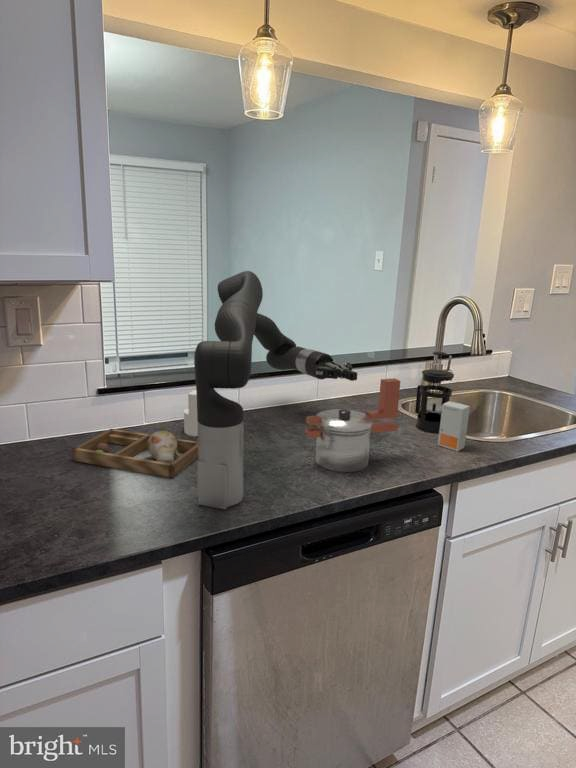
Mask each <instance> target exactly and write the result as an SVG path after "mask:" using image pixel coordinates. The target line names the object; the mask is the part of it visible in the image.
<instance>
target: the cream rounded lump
mask: <svg viewBox="0 0 576 768" xmlns="http://www.w3.org/2000/svg"><path fill="white" fill-rule="evenodd" d="M150 435H151V436H150V437H149V439H148V442H147V448H146V449H147V450H148V453H149V454H150V456H151V457H152V458H153V459H155V461H158V462H164V463H170V464H171V463H172V462H174V461H175V460H176V459H177V458H179V457H180V456H181V455H180V453H179V452H178V451H177V440H176V439H177V438H176V436H175V435H174V434H173V433H172V432H170V431H168V430H160V431H155V432H154V433H152V434H150ZM174 456H175V457H176V459H175V457H174Z"/></svg>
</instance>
